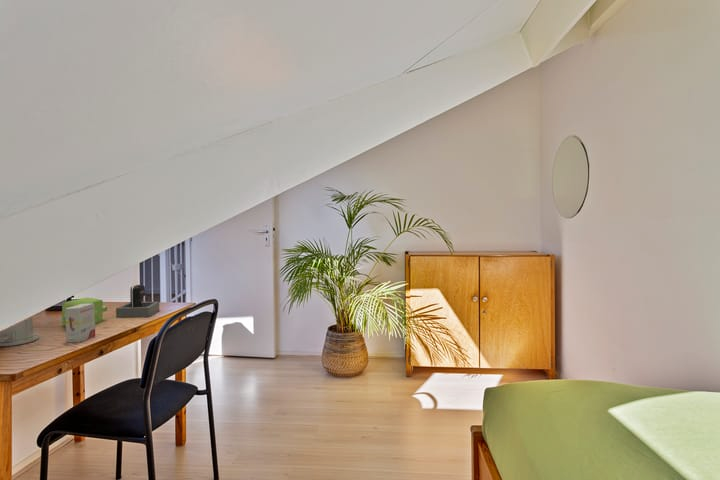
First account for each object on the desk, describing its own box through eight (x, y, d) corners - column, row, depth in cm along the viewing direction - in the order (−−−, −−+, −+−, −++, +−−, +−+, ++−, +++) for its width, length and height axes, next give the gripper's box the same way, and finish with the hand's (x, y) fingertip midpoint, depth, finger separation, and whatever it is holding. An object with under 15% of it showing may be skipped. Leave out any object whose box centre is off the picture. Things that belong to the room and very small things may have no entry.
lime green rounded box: (72, 332, 150) (72, 307, 150) (50, 329, 153) (50, 305, 152) (112, 320, 168) (112, 297, 167) (92, 317, 170) (92, 295, 169)
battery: (139, 312, 175) (139, 286, 175) (130, 312, 175) (129, 286, 174) (146, 309, 182) (146, 284, 182) (137, 309, 182) (137, 284, 181)
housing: (148, 317, 173) (148, 307, 173) (116, 317, 171) (116, 308, 171) (159, 310, 186) (159, 301, 186) (129, 310, 184) (129, 302, 184)
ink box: (82, 335, 146) (81, 302, 145) (96, 335, 146) (95, 303, 145) (65, 342, 137) (64, 308, 137) (79, 342, 137) (78, 308, 137)
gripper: (25, 203, 158) (26, 247, 159) (73, 204, 160) (74, 247, 161) (37, 204, 165) (38, 246, 166) (83, 205, 168) (84, 246, 168)
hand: (56, 246), depth 163 cm, fingers open, 9 cm apart
